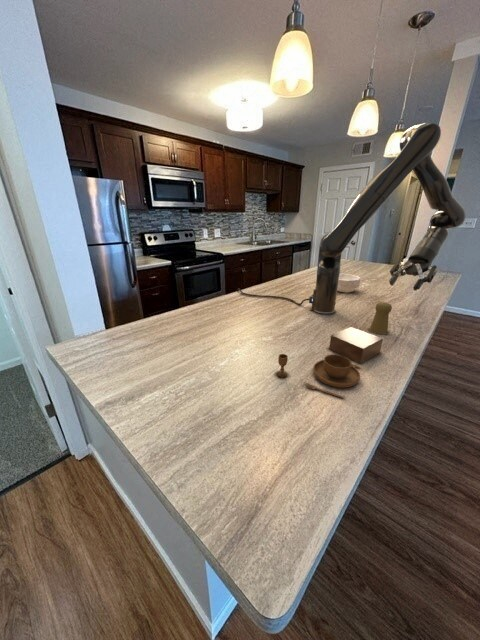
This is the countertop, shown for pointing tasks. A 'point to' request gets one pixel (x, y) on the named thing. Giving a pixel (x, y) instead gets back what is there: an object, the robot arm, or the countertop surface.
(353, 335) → the walnut block
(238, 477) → the countertop surface
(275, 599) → the countertop surface
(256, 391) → the countertop surface
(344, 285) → the paper bowls
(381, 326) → the cork
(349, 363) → the place setting
